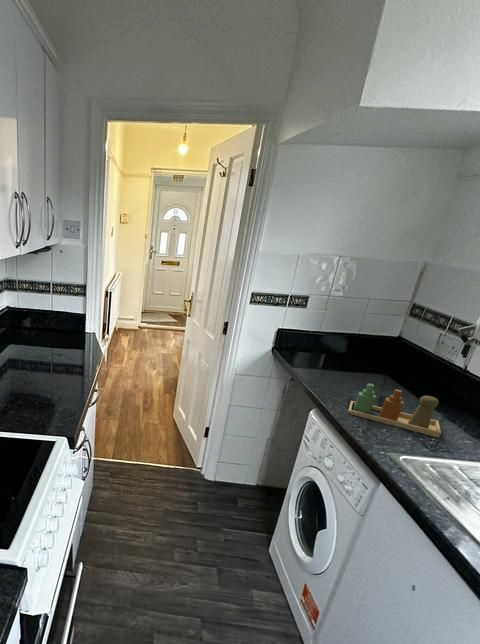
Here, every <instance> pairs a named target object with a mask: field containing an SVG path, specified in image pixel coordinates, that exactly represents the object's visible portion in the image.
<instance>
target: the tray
mask: <svg viewBox="0 0 480 644" xmlns="http://www.w3.org/2000/svg"><path fill="white" fill-rule="evenodd" d="M355 403H356V400H350V402H349V407H348V409H347V414H349V413H350V414H349V415H352V416H357V417H359V418H363V419H367V420H372V421H374V420H375V422H379V423H382V424H386V425H389V426H394V427H397V428H402V429H406V430H409V431H413V432H416V433H419V434H423V435H427V436H431V437H434V438H438V439H439V438H440V437H441V434H442V431H441V427H440V422H439V420H437V419H433V418H431V420H430V424H429V427H428V429H427V428H423V427H419V426H415V425H411V424H408V421H409V420H410V418H411V417H412V415H413V414H412V413H411V414H410V413H406V412H403V411H401V412H400V415H399V417H398V420H397V421H394V420H390V419H386V418H382V417H379V416H377V415H373V414H365V413H361V412H357V411H354V410H353V409H352V408H353V405H354V406H355ZM381 410H382V406H381V407H380V406H377V405H373V407H372V411H377V412H380V413H381Z"/></svg>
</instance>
